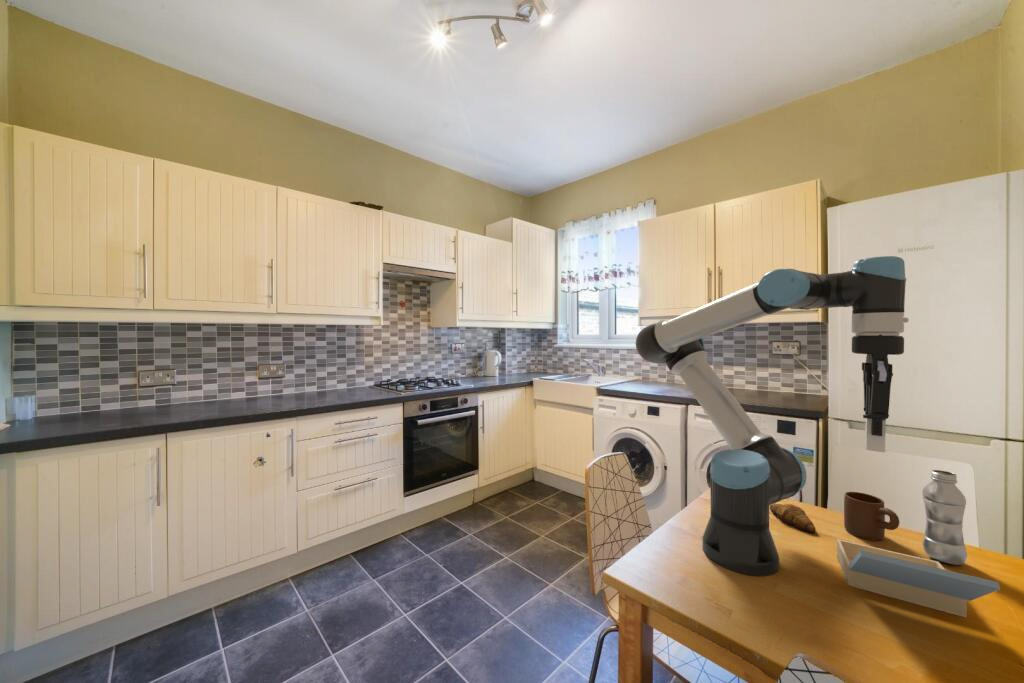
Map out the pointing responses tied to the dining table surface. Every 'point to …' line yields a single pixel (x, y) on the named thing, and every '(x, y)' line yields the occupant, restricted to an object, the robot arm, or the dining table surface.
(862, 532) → the mug
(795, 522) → the croissant
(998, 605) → the dining table surface
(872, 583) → the base
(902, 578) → the lid
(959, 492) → the plastic bottle
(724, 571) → the dining table surface
